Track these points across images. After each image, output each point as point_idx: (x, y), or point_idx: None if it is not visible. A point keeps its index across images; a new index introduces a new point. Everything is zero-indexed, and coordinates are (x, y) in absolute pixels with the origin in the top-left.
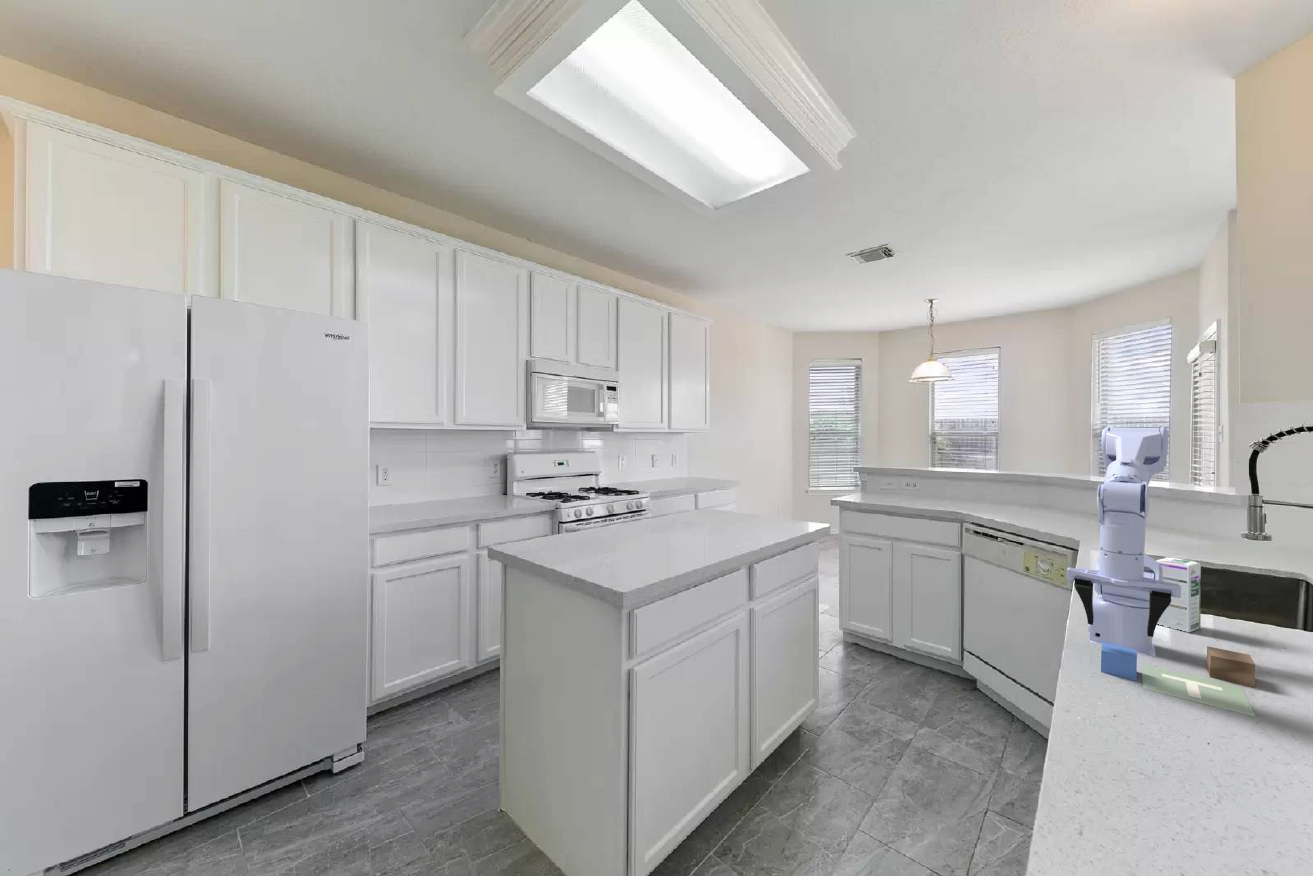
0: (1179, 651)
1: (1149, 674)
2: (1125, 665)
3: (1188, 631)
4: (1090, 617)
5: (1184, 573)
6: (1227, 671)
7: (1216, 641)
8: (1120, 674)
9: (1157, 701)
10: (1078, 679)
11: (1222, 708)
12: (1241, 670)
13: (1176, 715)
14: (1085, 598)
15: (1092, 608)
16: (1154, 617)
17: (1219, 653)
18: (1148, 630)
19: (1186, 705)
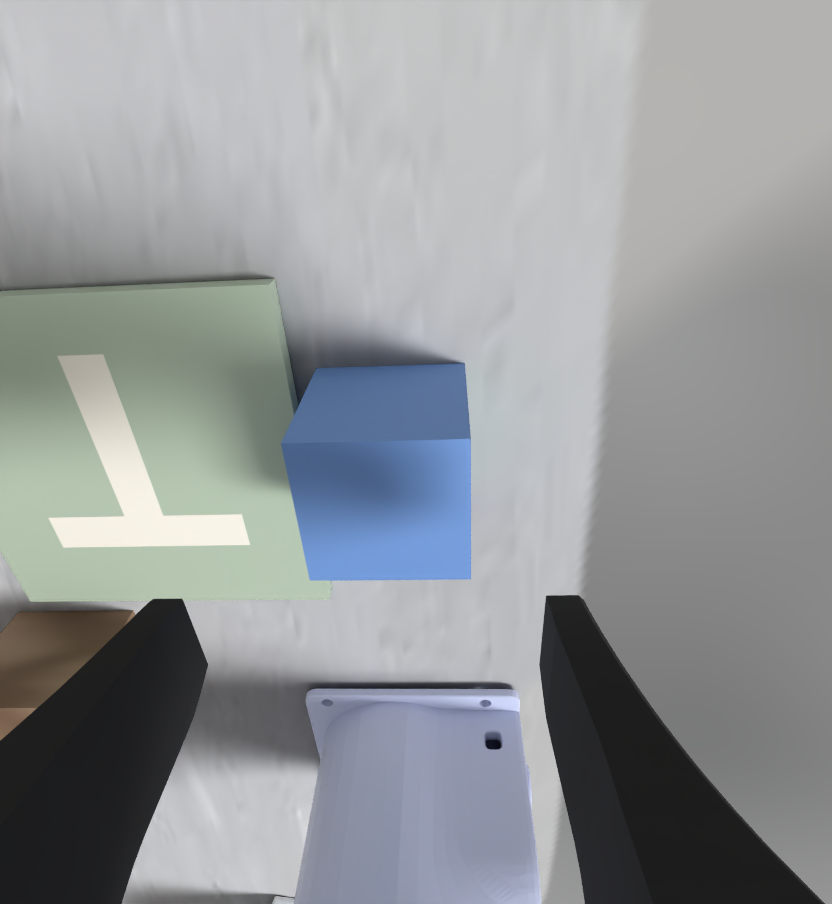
0: (265, 781)
1: (282, 499)
2: (348, 409)
3: (275, 901)
4: (580, 642)
5: None
6: (55, 656)
7: (214, 879)
8: (377, 379)
9: (194, 186)
10: (571, 188)
11: None
12: (6, 672)
13: (70, 17)
14: (719, 865)
15: (575, 772)
16: (11, 758)
17: None
18: (149, 632)
19: (94, 252)
